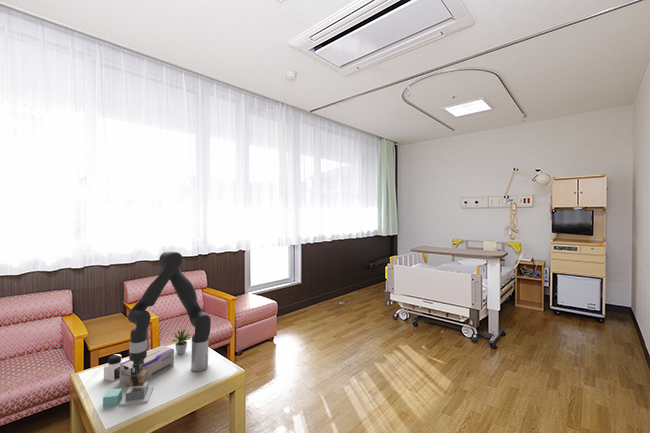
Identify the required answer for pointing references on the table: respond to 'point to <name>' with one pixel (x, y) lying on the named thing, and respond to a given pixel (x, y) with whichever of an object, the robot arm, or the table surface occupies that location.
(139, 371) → the robot arm
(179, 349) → the house plant
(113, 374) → the medicine bottle
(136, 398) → the plate
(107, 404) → the teal block
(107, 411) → the table surface
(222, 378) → the table surface
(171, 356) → the surgical sutures box
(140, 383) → the walnut block
